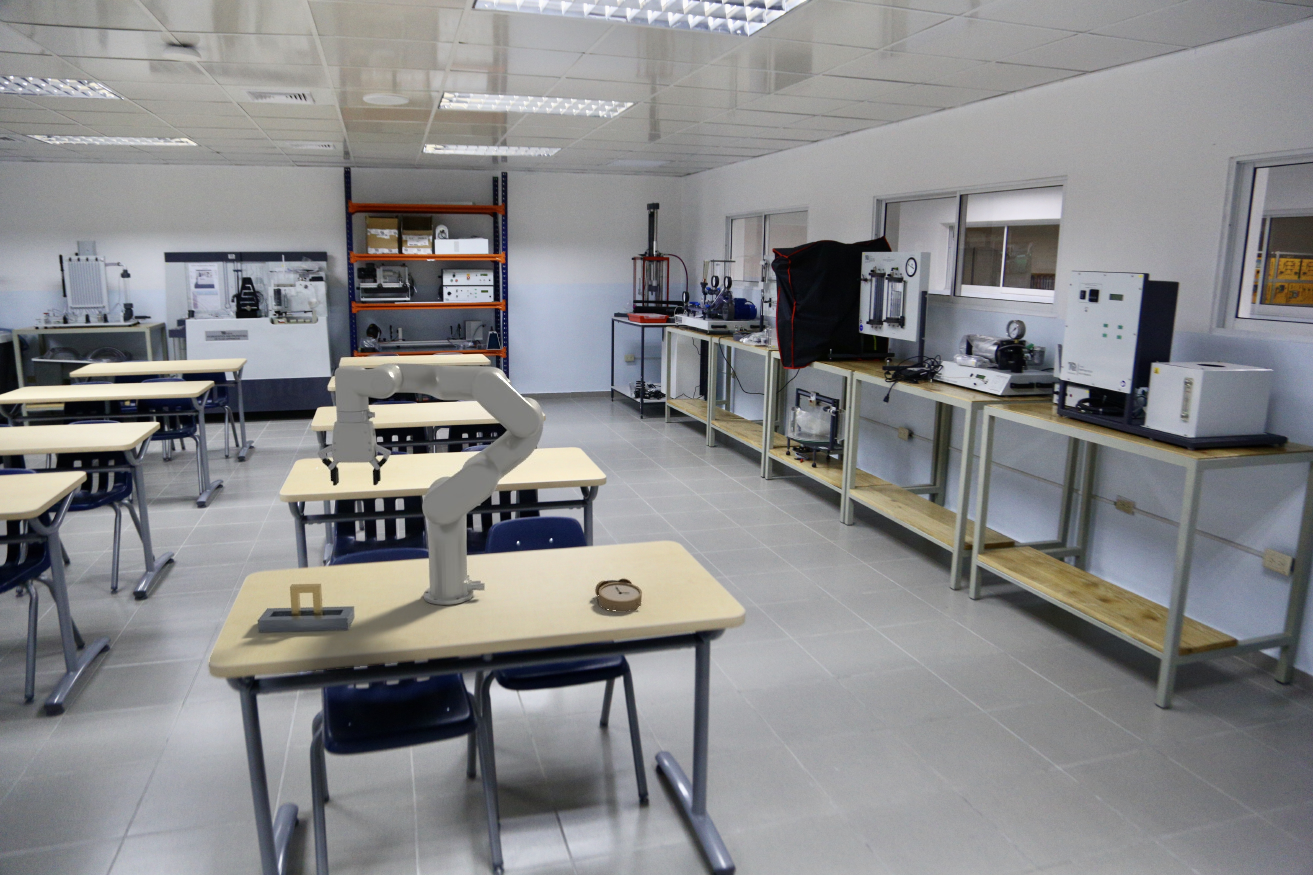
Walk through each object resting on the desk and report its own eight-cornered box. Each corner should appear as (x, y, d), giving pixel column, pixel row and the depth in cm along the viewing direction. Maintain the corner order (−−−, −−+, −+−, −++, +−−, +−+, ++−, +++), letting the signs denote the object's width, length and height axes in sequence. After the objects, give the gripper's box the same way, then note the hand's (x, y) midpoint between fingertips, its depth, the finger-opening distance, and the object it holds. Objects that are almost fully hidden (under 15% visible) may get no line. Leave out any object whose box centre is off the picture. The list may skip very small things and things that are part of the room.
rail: (354, 617, 206) (353, 606, 205) (347, 629, 199) (347, 618, 198) (268, 619, 203) (267, 608, 203) (258, 632, 196) (257, 620, 196)
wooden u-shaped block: (323, 619, 202) (321, 583, 200) (321, 622, 201) (319, 586, 199) (294, 620, 201) (291, 584, 199) (292, 623, 200) (289, 586, 198)
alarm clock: (606, 604, 211) (589, 574, 224) (605, 621, 213) (588, 590, 226) (648, 599, 215) (629, 569, 228) (647, 615, 217) (628, 585, 230)
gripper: (392, 414, 213) (394, 480, 216) (320, 413, 211) (323, 480, 214) (386, 419, 206) (389, 487, 209) (312, 419, 203) (316, 488, 207)
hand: (356, 484), depth 212 cm, fingers open, 9 cm apart
